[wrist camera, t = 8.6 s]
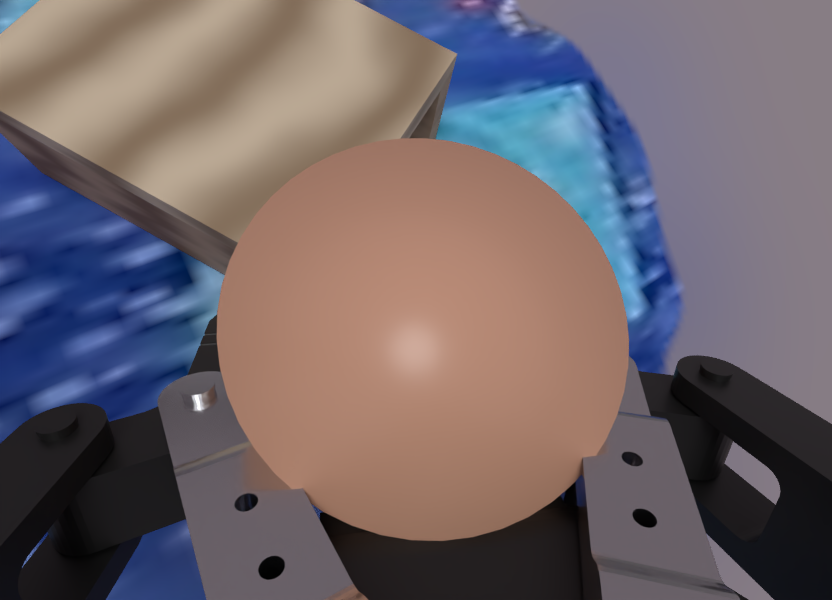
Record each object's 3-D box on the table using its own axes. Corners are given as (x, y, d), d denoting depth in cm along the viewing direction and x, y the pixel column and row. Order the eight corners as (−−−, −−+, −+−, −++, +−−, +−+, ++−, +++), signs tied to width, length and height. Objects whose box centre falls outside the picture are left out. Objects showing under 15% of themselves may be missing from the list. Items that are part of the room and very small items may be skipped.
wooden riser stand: (41, 172, 32) (-54, 80, 24) (197, 13, 37) (158, -103, 30) (316, 325, 31) (304, 279, 23) (434, 140, 36) (457, 54, 29)
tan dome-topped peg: (264, 441, 16) (119, 393, 6) (351, 303, 18) (359, 79, 8) (412, 526, 16) (534, 635, 6) (484, 377, 18) (678, 251, 7)
